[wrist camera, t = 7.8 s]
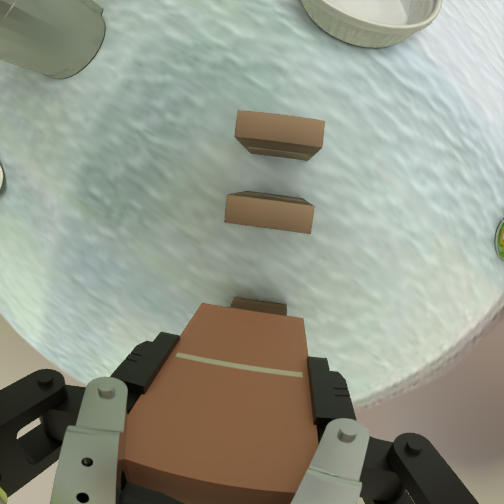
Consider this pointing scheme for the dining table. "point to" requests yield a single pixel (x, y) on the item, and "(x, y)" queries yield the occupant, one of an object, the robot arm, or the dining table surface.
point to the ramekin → (372, 19)
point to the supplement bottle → (500, 240)
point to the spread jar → (1, 176)
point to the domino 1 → (227, 412)
